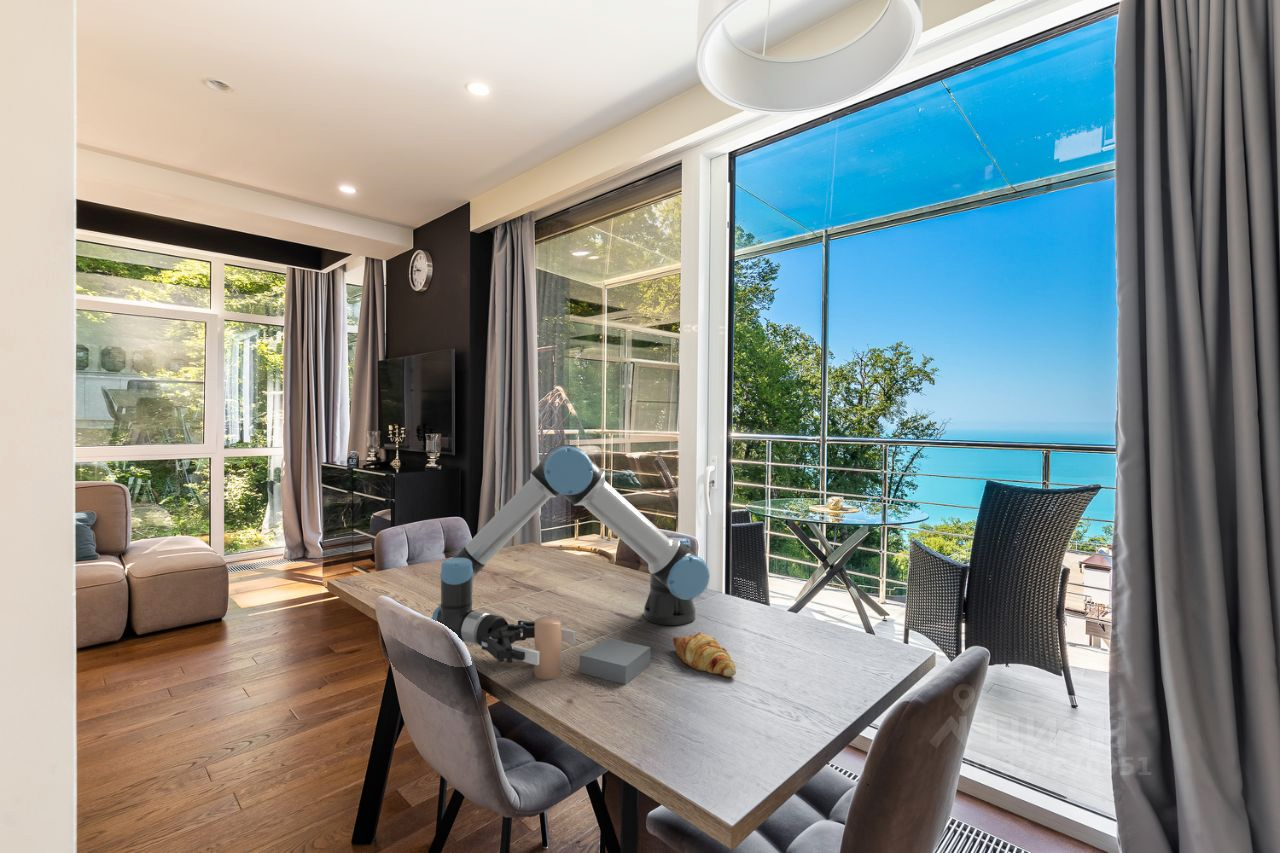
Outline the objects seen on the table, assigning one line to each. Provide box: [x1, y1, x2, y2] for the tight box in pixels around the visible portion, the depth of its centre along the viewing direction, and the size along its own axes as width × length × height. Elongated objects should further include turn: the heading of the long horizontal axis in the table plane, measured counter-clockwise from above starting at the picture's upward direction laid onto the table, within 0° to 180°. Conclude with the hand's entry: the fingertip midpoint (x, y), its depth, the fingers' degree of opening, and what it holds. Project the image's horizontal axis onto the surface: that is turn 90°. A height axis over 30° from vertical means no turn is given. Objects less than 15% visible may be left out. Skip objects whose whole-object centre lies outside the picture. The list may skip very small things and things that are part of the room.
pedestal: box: [579, 637, 652, 685], centre depth 134 cm, size 12×12×4 cm
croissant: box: [672, 632, 737, 678], centre depth 137 cm, size 21×10×8 cm, turn 37°
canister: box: [533, 615, 562, 681], centre depth 131 cm, size 6×6×12 cm
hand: (557, 647), depth 129 cm, fingers open, 13 cm apart
